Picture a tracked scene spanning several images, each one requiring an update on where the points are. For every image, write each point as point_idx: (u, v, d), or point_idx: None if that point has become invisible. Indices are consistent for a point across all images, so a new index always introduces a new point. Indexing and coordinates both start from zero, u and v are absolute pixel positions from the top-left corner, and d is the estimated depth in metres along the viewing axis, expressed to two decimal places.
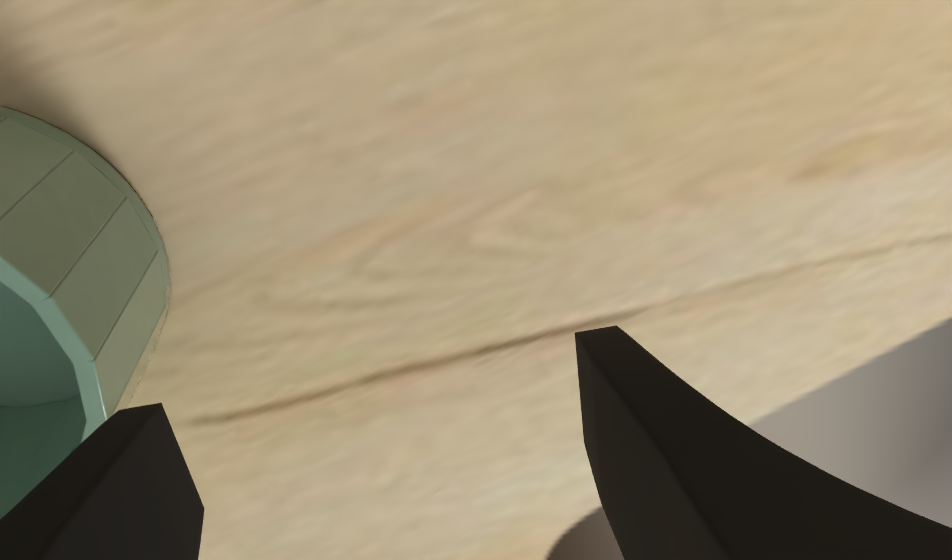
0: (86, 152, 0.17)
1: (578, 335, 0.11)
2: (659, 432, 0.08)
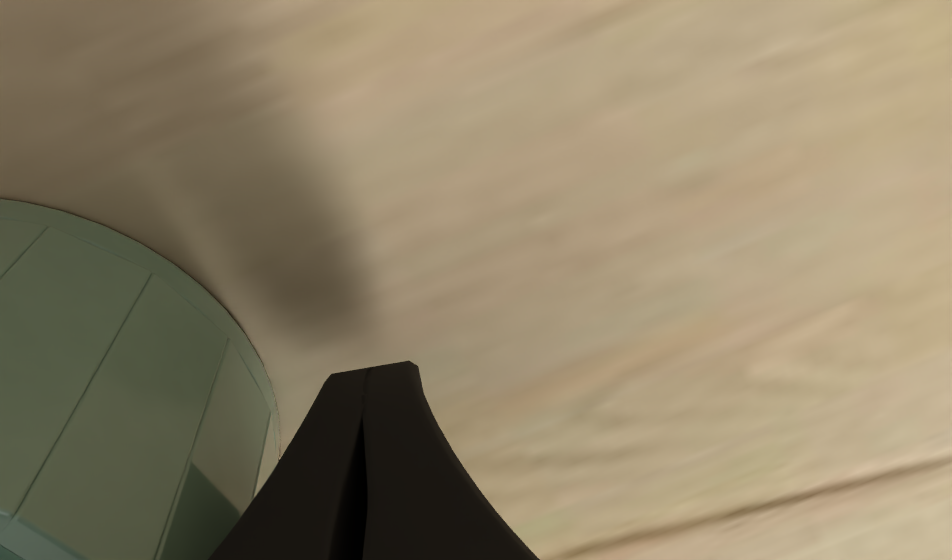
0: (168, 272, 0.11)
1: (366, 371, 0.11)
2: (378, 481, 0.08)
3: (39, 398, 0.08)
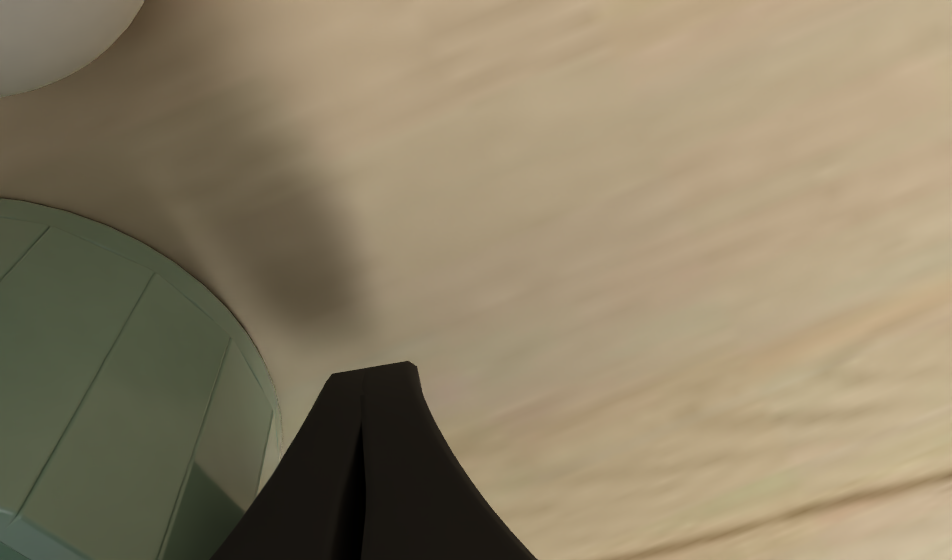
0: (171, 271, 0.11)
1: (365, 372, 0.11)
2: (377, 481, 0.08)
3: (42, 397, 0.08)
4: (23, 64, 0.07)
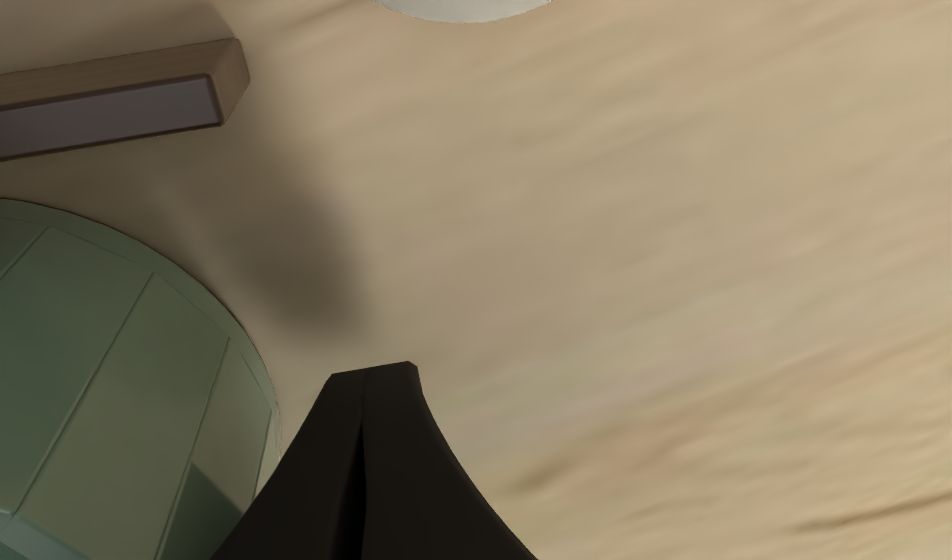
0: (169, 271, 0.11)
1: (366, 372, 0.11)
2: (377, 481, 0.08)
3: (39, 397, 0.08)
4: None
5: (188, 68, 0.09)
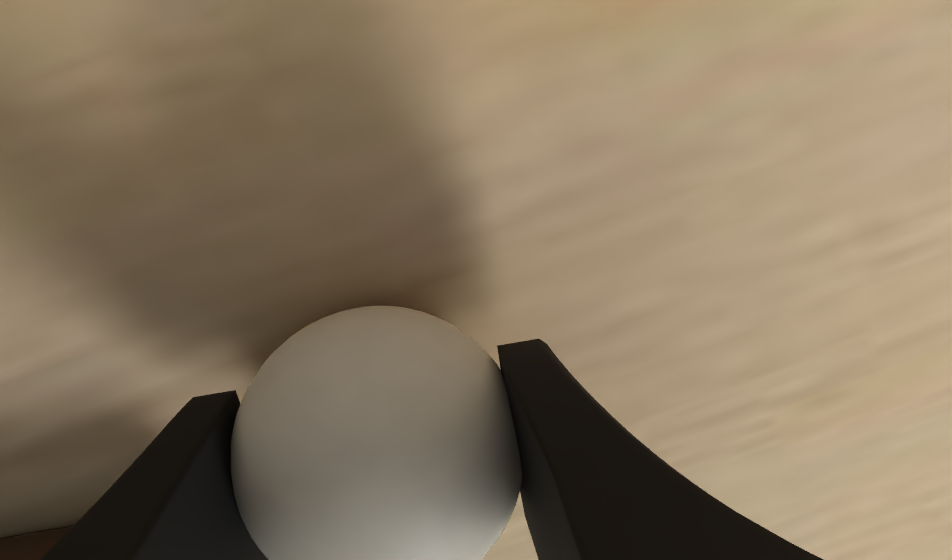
0: None
1: (499, 349, 0.11)
2: (554, 450, 0.08)
3: None
4: None
5: None
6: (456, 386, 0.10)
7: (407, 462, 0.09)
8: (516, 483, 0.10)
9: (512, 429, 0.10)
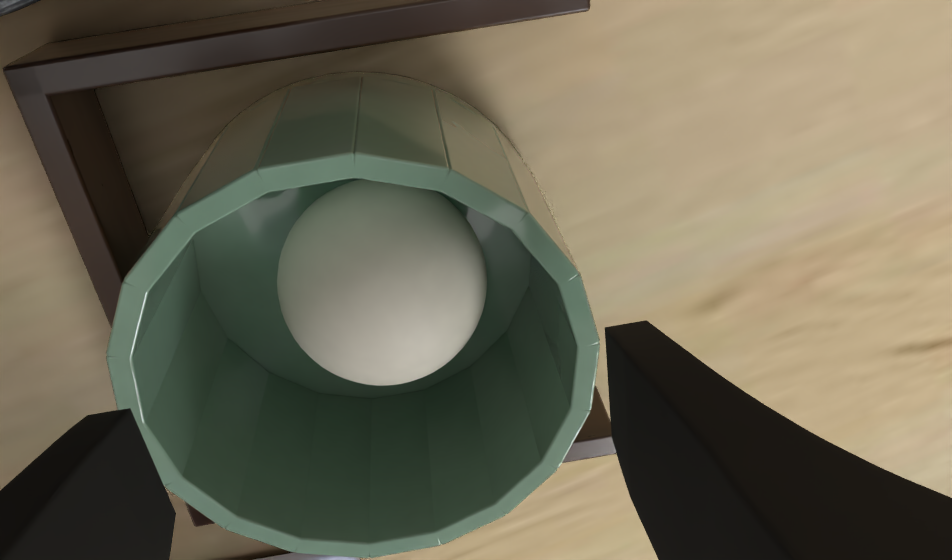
0: (495, 128, 0.16)
1: (608, 330, 0.11)
2: (699, 425, 0.08)
3: (498, 168, 0.13)
4: (431, 372, 0.15)
5: None
6: (435, 221, 0.14)
7: (403, 265, 0.13)
8: (479, 296, 0.14)
9: (476, 257, 0.14)
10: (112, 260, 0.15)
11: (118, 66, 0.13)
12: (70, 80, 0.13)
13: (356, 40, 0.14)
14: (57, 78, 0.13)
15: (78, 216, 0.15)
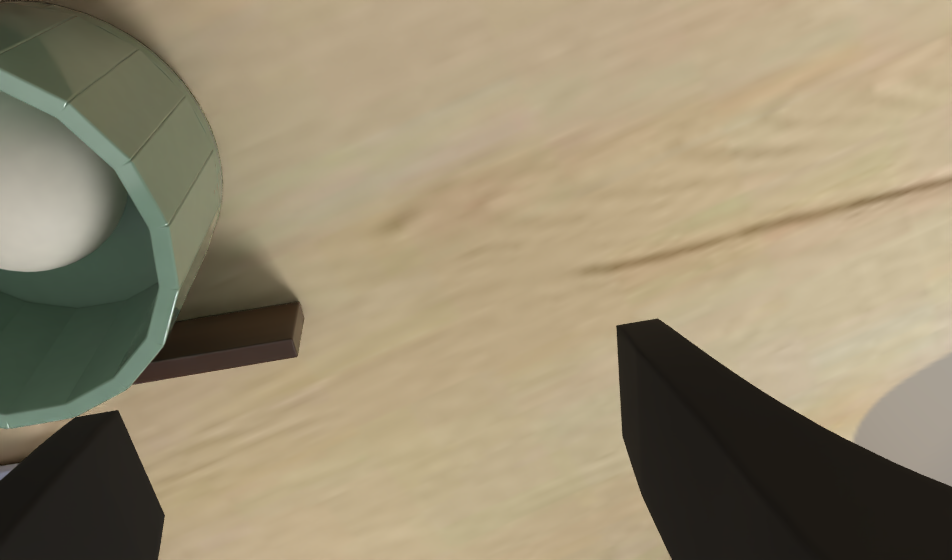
0: (148, 53, 0.18)
1: (620, 328, 0.11)
2: (715, 422, 0.08)
3: (76, 72, 0.15)
4: (68, 259, 0.17)
5: None
6: (47, 115, 0.16)
7: (3, 148, 0.15)
8: (99, 185, 0.16)
9: None
10: None
11: None
12: None
13: None
14: None
15: None
